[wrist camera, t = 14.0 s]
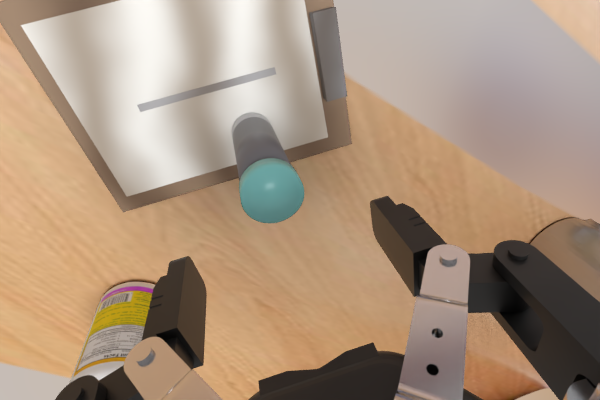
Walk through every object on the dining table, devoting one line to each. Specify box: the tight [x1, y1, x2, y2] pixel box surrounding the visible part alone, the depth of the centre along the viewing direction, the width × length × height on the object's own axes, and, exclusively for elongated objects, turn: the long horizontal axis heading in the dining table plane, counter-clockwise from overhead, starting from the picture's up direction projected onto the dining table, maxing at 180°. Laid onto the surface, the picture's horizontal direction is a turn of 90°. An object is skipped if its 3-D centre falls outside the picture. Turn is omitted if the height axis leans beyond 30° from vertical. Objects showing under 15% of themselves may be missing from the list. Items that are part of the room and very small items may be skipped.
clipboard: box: [0, 0, 352, 212], centre depth 23 cm, size 20×15×2 cm
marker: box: [232, 112, 304, 223], centre depth 21 cm, size 3×3×10 cm
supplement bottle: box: [69, 282, 155, 384], centre depth 27 cm, size 7×7×13 cm
